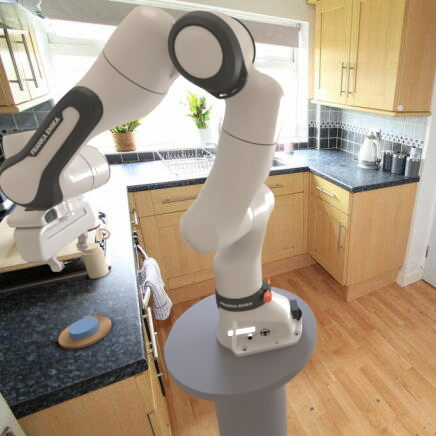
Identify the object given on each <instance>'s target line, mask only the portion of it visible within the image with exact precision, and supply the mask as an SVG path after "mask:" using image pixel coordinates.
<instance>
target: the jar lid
mask: <svg viewBox="0 0 436 436" xmlns="http://www.w3.org/2000/svg"><path fill="white" fill-rule="evenodd" d="M71 324H72V325H71ZM71 324H70V325H71V326H70V325H69V326H70V327H69V335H70V337H71V338H73V339H83V338H86V337H89V336H91V335H92V334H94V333H95V332H96V331H97V330H98V329H99V322H98V321H97V319H96V318H93V317H92V316H88V318H87V317H83V318H81V319H78V320H77V321H75V322H73V323H71Z"/></svg>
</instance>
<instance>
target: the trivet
mask: <svg viewBox="0 0 436 436" xmlns="http://www.w3.org/2000/svg"><path fill="white" fill-rule="evenodd" d="M88 317H89V316H88ZM88 317H86V318H88ZM91 317H93V318H96V319H97V321H98V322H99V329H98V330H97V331H96V332H95V333H94V334H92V335H91V336H89V337H86V338H83V339H73V338H71V337H70V335H69V327H70V326H71V325H72V324H73V323H71V324H70V325H68V326H67V327H65V328H64V329H63V330H62V331H61V333H60V334H59V336H58V340H57V341H58V344H59V345H60V347H61V348H63V349H67V350H76V349H77V350H78V349H82V348H86V347H88V346H91V345H93V344H95V343H97V342H99V341H101V340H102V339H103V338H104V337H106V336H107V335H108V333H110V331H111V329H112V325H113V324H112V321H111V319H110V318H109V317H108V316H104V315H91Z"/></svg>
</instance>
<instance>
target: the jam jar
mask: <svg viewBox="0 0 436 436" xmlns="http://www.w3.org/2000/svg"><path fill="white" fill-rule="evenodd" d="M88 246H89V247H88V248H87V249H86V250H85V251H80V254H81V257H82V260H83V264H84V266H85V269H86V272H87V275H88V278H89V279H100V278H104V277H105V276H107V275H108V274H109V273H110V270H109V267H108V263H107V260H106V256H105V252H104V250H103V247H100V244H99V243H89V244H88Z"/></svg>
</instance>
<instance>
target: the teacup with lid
mask: <svg viewBox="0 0 436 436" xmlns="http://www.w3.org/2000/svg"><path fill="white" fill-rule="evenodd" d="M93 230H96V242H97V241H102V240H104V241H106V240H109V239H110V238H111V235H112V232H111V230H110V229H109V228H107V227H101V223H100V221H98V220H95V225H94V226H92V227H91V228H90V229H88V230H87V232H91V231H93ZM103 231H105V232H107V236H106V237H104V235H103Z"/></svg>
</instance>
